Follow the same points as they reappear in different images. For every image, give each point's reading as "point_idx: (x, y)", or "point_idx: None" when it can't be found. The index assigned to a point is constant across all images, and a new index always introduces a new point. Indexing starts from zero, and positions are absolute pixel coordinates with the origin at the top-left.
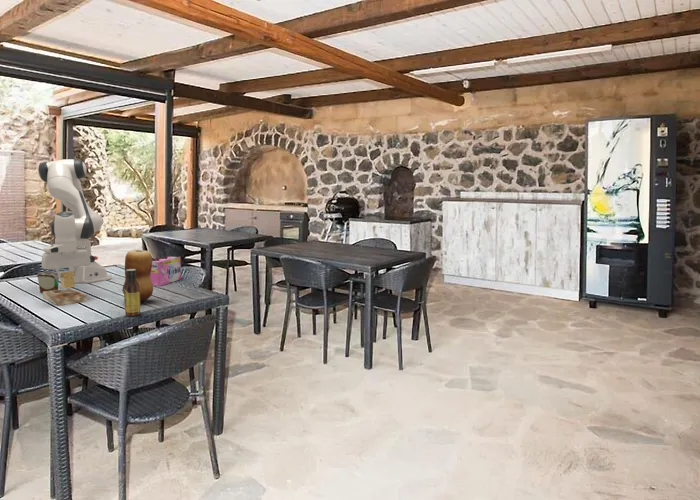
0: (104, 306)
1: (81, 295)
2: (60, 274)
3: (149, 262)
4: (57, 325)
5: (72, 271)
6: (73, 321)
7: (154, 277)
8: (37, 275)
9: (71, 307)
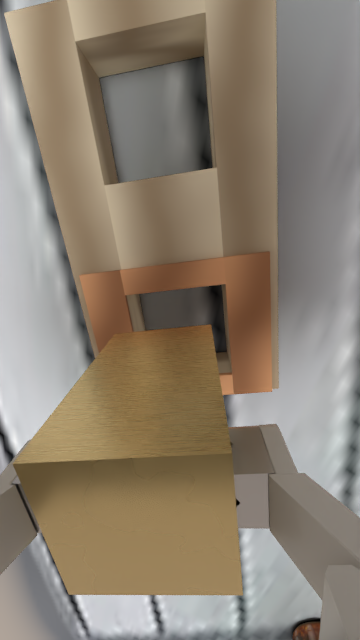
0: None
1: (247, 391)
2: (35, 525)
3: None
4: (85, 609)
5: (235, 549)
6: (132, 601)
7: None
8: None
9: None
